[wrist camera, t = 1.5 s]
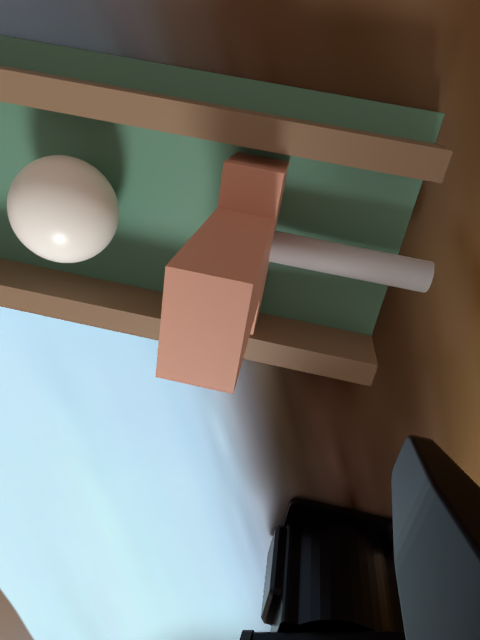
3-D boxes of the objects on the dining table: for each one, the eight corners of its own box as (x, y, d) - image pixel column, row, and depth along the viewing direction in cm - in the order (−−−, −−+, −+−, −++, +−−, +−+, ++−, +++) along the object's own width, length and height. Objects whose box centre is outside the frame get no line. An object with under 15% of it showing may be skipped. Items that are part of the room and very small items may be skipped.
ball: (136, 159, 18) (93, 174, 15) (131, 254, 20) (92, 287, 17) (41, 141, 19) (-24, 152, 15) (45, 236, 20) (-13, 265, 17)
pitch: (438, 112, 17) (508, 122, 11) (357, 362, 22) (373, 467, 16) (-162, 6, 18) (-405, -39, 12) (-110, 262, 23) (-264, 322, 17)
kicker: (448, 191, 17) (564, 275, 9) (398, 331, 20) (453, 492, 12) (237, 151, 18) (171, 198, 10) (216, 294, 20) (151, 423, 12)
